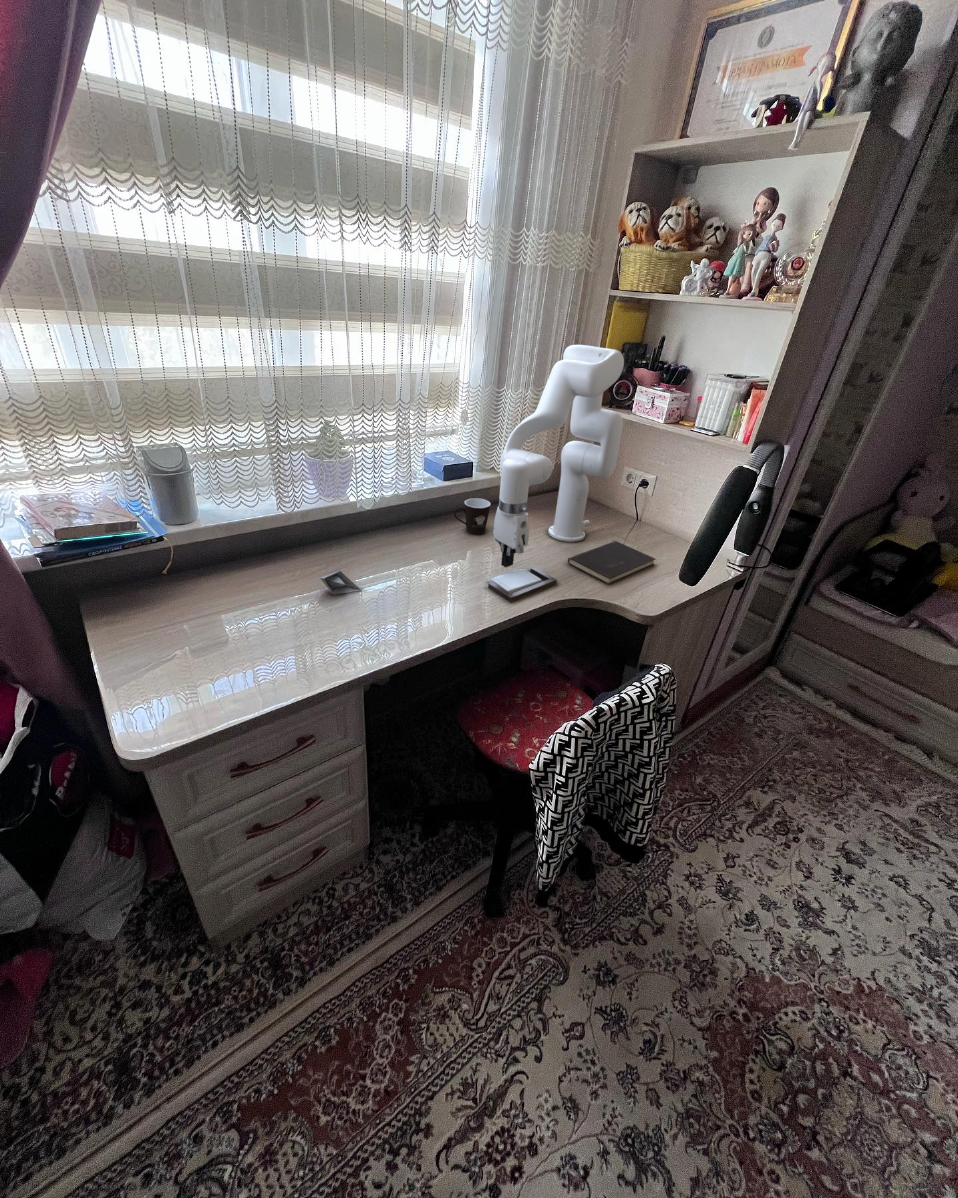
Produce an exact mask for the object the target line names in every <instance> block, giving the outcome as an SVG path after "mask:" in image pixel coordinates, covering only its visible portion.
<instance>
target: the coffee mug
mask: <svg viewBox="0 0 958 1198" xmlns="http://www.w3.org/2000/svg"><path fill="white" fill-rule="evenodd" d="M491 504H492V503H491V501H489V500H487V499H484V498H478V497H477V498H476V497H475V498H468V499H466V500H464V507H456V509H454V511H453V516H454V518H455V519H456V520H457V521H459V522H461V524H464V525H465V529H466V533H468V534H470V535H473V536H481V535H483V534H485V533H486V530H487V529H486V528H487V524H488V521H489V520H488V519H489V516H490V510H491ZM459 510H461V511H463V513H464V515H465V521H464V520H462V519H460V518H458V517H457V515H456V514H457V511H459Z"/></svg>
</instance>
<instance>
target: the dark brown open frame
mask: <svg viewBox="0 0 958 1198" xmlns="http://www.w3.org/2000/svg"><path fill="white" fill-rule="evenodd" d="M529 572H530V573H532V574H534V575H535V576H537V577H538V578H540V579H541V582H540V583H538V584H535V585H533V586H530V587H528V588H525V589H523V590H520V591H517V592H515V593H512V594H511V593H509V592H508V591H506V590H504V589H503V588H501V587H500V586H498V585H496V584H495V583H493V582H491V583H490V582H488V585H487V589H489V590H491V591H492V592H494V593H495V594H497V595H498V596H500V597H501V598H503V599H505V600H506V601H507V602H509V603H514V602H516V601H518V600H520V599H522V598H526V597H528V596H530V595H533V594H535V593H538V592H540V591H543V590H546V589H548V588H550V587H552V586H555V585H557V582H558V579H557V578H555V577H554V576H552V575H550V574H547V573H546V572H544V571H543V570H540V569H539V568H537V567H535V566H532V567H530V569H529Z"/></svg>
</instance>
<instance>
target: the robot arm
mask: <svg viewBox="0 0 958 1198" xmlns="http://www.w3.org/2000/svg"><path fill="white" fill-rule="evenodd" d="M623 355H624V354H622V352H621V351H619V350H617V349H614V348H607V347H601V346H600V347H599V346H593V345H587V344H571V345H569V346H567V347H566V348H565V350H564V352H563V356H562V359H560V360H558V361H557V362H555V363H554V365H553V367H552V369H551V371H550V373H549V376H548V379H547V381H546V384H545V387H544V388H543V392H542V394H541V396H540V399H539V401H538V404H537V407H536V409H535V411H534V412H532V413H531V414H530V415H528V416H527V417H526V418H524V419H523V420H522V421H521V422H520V423H519V424H518V425H516V426H515V428H514V429H513V430H512V432H511V433H510V434H509V436H508V438H507V440H506V443H505V446H504V449H503V451H502V454H501V458H500V469H501V473H500V484H499V496H498V497H499V498H498V506H497V509H496V512H495V516H494V522H493V538H494V541H495V542H496V543H498V544H499V547H500V553H501V562H500V565H501V566H502V567H504V569H505V568H508V567H511V566H513V565H514V561H515V560H514V558H515V554H523V553H524V552H525V551H524V550H525V548H524V547H526V546H528V545H529V537H530V517H529V513H528V511H529V508H528V507H527V506H528V498H529V487H530V486H534V485H540V484H543V483H545V482H546V481H547V480H548V479H549V478H551V476H552V474H553V469H554V467H553V466H554V465H553V462H552V460H551V459H550V458H549V457H547V456H545V455H542V454H539V453H535V452H531V451H528V450H523V446H524V444H525V443H526V442H527V441H528V440H529V439H530V438H531V437H532V436H534V435H536V434H539V433H541V432H544V431H548V430H552V429H556V428H557V429H558V428H560V427H562V426H564V424H565V423H566V421H567V419H568V416H569V413H570V410H571V414H570V424H569V431H570V434H572V436H574V437H577V438H578V439H579V438H580V439H582V440H586V441H587V440H588V441H592V442H596V443H599V444H600V445H598V444H594V443H591V442H586V441H581V440H571V441H569V442H567V443H565V445H564V446H563V447H562V449H561V453H560V465H561V466H560V481H559V488H558V495H557V502H556V508H555V514H554V522H553V525H551V526H550V527H549V528H548V530H547V532H548V533H547V534H548V535H549V536H550V537H552V538H553V539H554V540H557V541H561V542H567V543H575V542H581V541H582V540H584V539H585V538H586V532H585V531H584V530H583V529H584V528H585V527H588V526H589V525H590V524H591V521H590V520H589V519H586V520H584V517H585V514H586V513H585V512H586V507H587V501H588V497H589V491H590V483H589V479H588V477H587V476H589V477H593V478H595V479H596V478H597V479H601V480H607V479H610V478H611V476H612V475H614V472H615V470H616V467H617V462H618V457H619V451H620V445H621V440H622V436H623V428H624V420H623V416H622V415H621V414H620V413H619V412H618V411H614V410H611V409H606V408H603V407H602V404H603V397H604V392H606V390H608V389H609V388H610V387H612V386H613V385H614V384H615V383H616V382H617V381H618V380H619V378H620V376H621V375H622V372H623V370H624V366H625V359H624V356H623Z"/></svg>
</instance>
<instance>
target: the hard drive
mask: <svg viewBox="0 0 958 1198" xmlns="http://www.w3.org/2000/svg"><path fill="white" fill-rule="evenodd" d="M491 582H493V583H495V584H496V585H498V586H500V587H501V588H503V589H504V590H506V591H508V592H509V593H511V594H512V593H515V592H517V591H520V590H523V589H525V588H528V587H530V586H533V585H535V584H538V583H540V582H542V579H540V578H539V577H537V576H535V575H534V574H532V573H530V570H527V569H526V568H520V569H516V570H514V571H510V572H506V573H504V574H503V573H502V574H500V575H497V576H494V577H491V578H489V581H488V583H491Z"/></svg>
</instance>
